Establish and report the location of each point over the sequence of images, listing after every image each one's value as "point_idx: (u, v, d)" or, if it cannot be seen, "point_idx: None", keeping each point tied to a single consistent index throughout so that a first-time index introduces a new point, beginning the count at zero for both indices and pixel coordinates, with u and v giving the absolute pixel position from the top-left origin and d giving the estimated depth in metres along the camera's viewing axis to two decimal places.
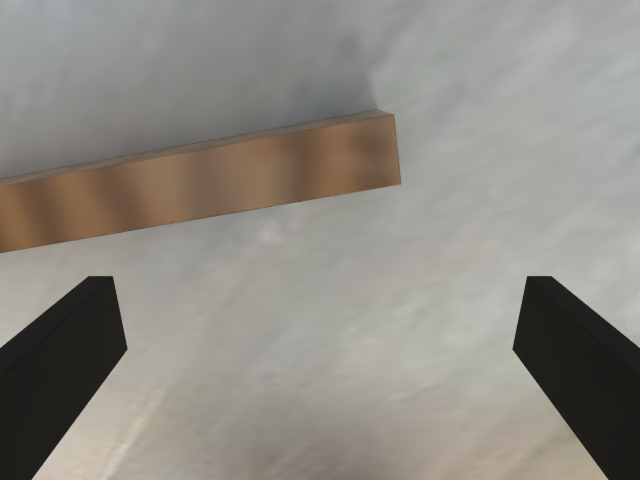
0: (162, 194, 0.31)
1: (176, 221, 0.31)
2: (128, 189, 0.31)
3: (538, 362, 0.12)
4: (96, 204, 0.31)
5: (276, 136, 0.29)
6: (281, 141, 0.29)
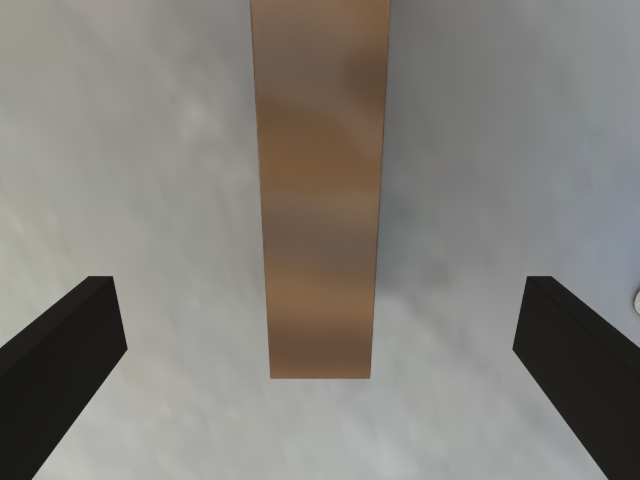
0: None
1: None
2: None
3: (538, 362, 0.12)
4: None
5: (377, 220, 0.18)
6: (368, 226, 0.18)
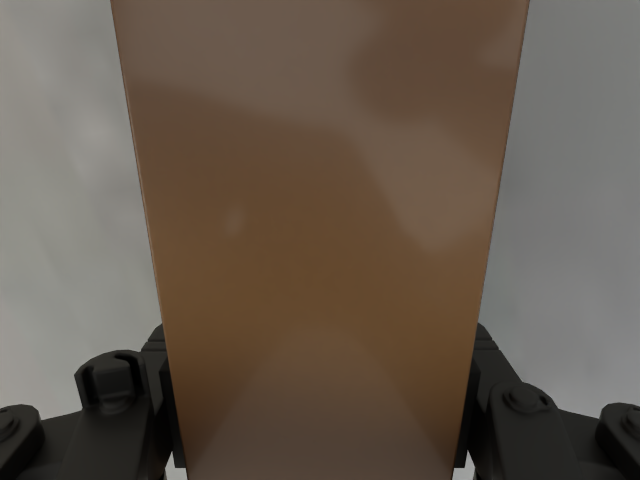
0: None
1: None
2: None
3: None
4: None
5: (460, 411, 0.07)
6: (436, 426, 0.07)
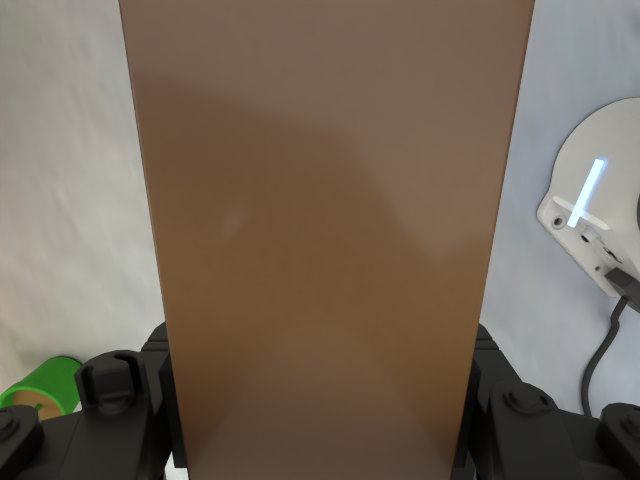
0: None
1: None
2: None
3: None
4: None
5: (460, 409, 0.07)
6: (437, 422, 0.07)
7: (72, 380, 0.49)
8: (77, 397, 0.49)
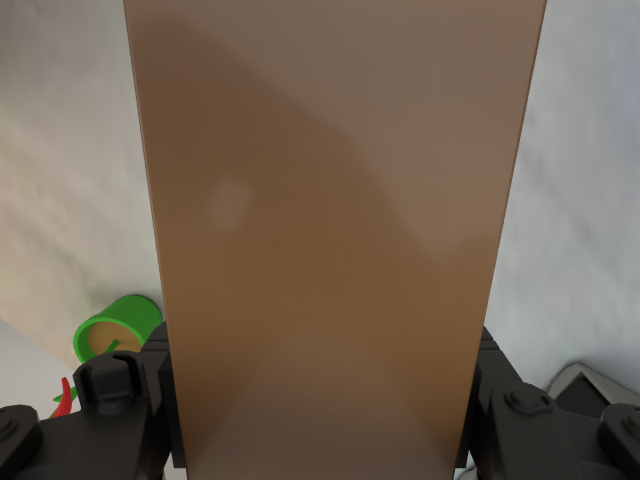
0: None
1: None
2: None
3: None
4: None
5: (462, 414, 0.07)
6: (439, 428, 0.07)
7: (149, 317, 0.45)
8: None
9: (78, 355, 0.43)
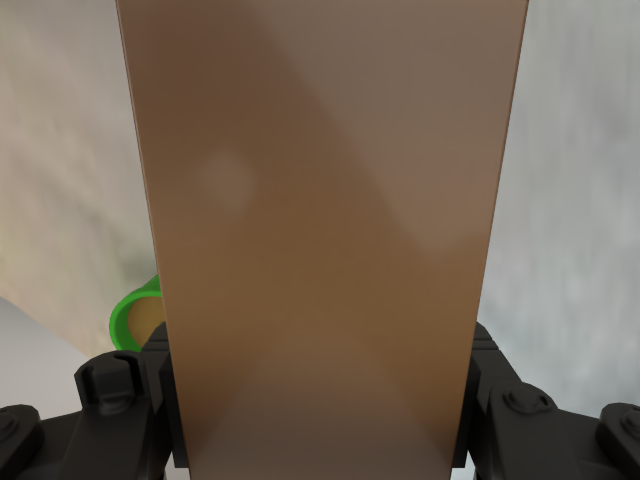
0: None
1: None
2: None
3: None
4: None
5: (458, 408, 0.07)
6: (435, 422, 0.07)
7: None
8: None
9: (115, 343, 0.32)
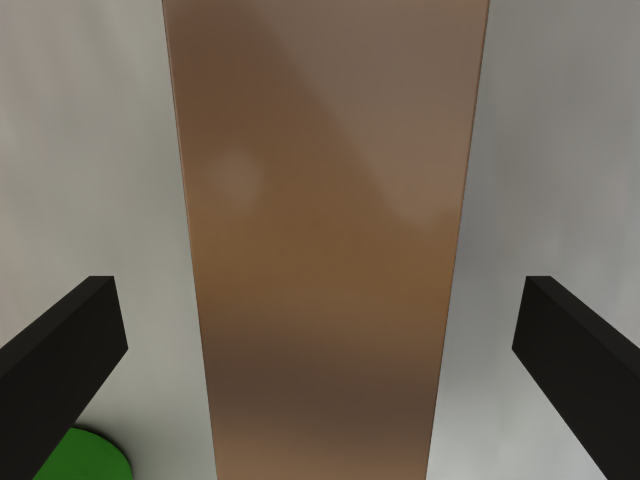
0: None
1: None
2: None
3: (537, 362, 0.12)
4: None
5: (439, 353, 0.09)
6: (420, 366, 0.09)
7: None
8: None
9: None
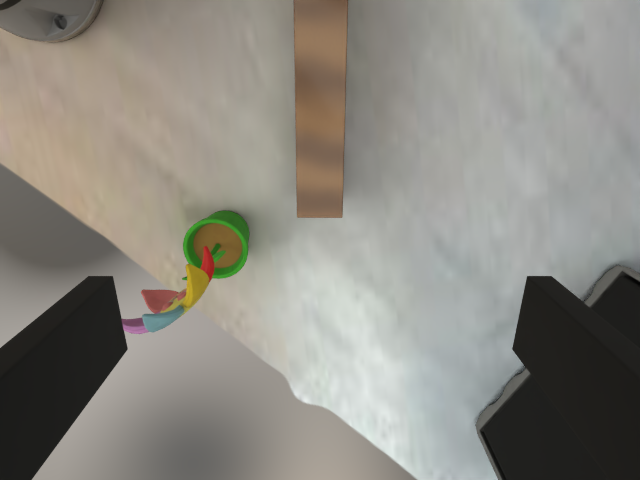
0: (318, 42, 0.39)
1: (295, 46, 0.40)
2: (327, 13, 0.39)
3: (538, 362, 0.12)
4: None
5: (343, 140, 0.43)
6: (339, 143, 0.43)
7: (243, 226, 0.52)
8: None
9: (187, 256, 0.49)
